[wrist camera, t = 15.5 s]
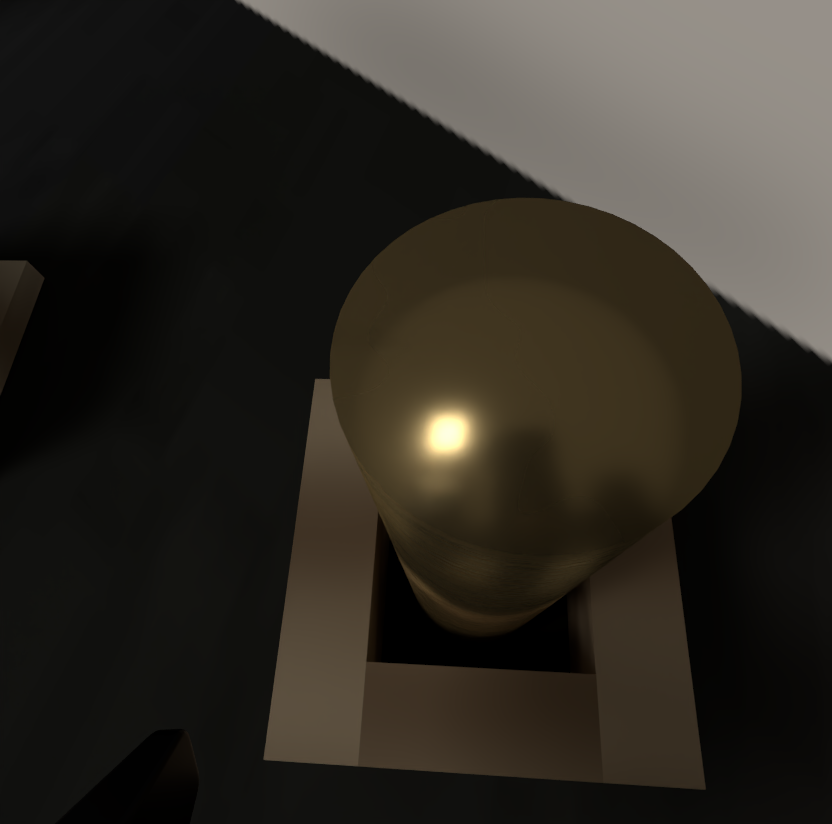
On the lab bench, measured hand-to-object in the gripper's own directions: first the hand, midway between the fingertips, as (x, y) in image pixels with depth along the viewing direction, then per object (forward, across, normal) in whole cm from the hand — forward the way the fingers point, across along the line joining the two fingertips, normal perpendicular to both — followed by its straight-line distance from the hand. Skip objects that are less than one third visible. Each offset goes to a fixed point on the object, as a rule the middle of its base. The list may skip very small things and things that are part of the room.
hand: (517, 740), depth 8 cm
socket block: (+8, 0, +3) cm, 9 cm away
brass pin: (+8, 0, +3) cm, 9 cm away
